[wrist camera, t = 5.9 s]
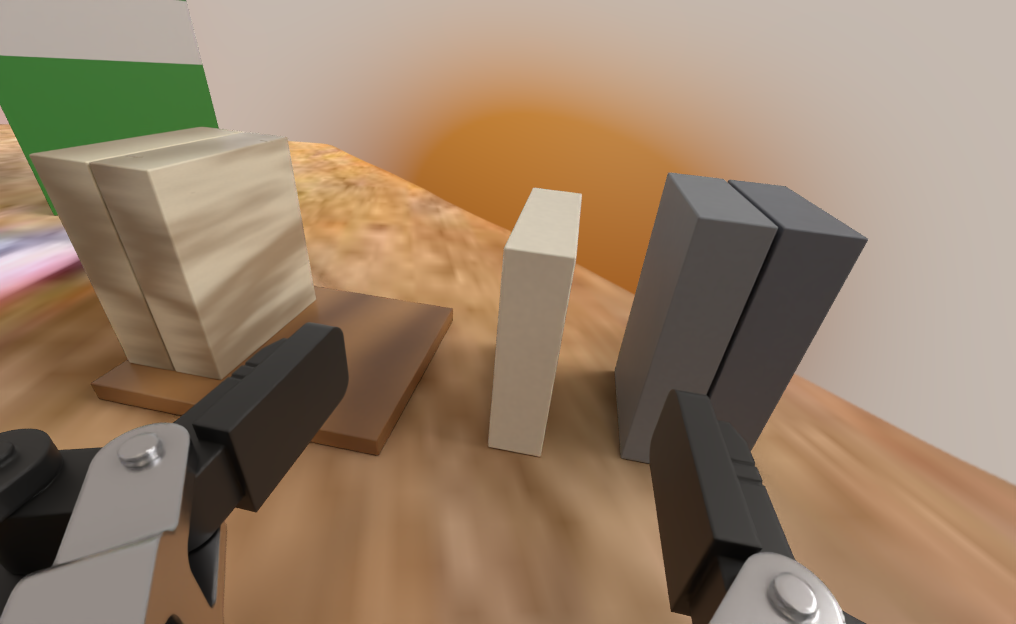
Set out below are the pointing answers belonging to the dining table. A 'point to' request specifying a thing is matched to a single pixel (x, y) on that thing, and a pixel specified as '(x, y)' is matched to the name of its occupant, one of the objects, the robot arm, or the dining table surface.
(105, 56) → the hardback book
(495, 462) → the dining table surface
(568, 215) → the white book
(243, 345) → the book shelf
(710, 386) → the grey books
